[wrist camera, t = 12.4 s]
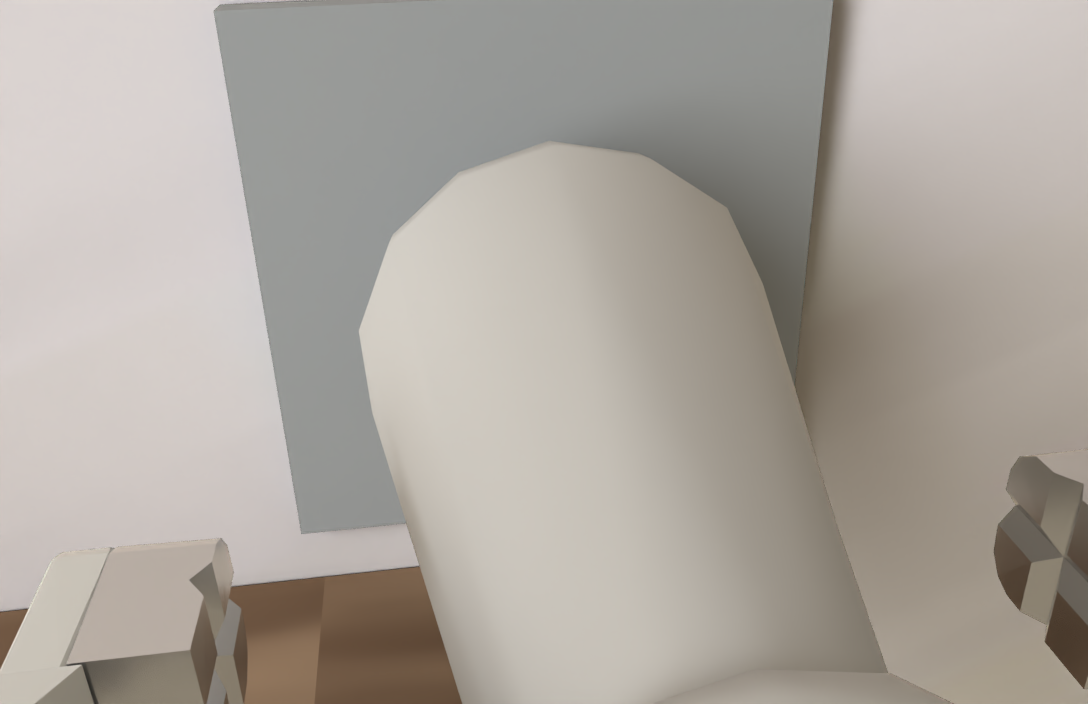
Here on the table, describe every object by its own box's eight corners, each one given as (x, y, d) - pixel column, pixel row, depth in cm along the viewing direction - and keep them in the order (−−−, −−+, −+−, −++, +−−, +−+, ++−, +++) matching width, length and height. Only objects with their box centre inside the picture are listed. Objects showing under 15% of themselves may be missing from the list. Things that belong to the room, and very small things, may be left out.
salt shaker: (674, 53, 15) (1559, 723, 4) (747, 370, 18) (1393, 1328, 6) (305, 177, 15) (44, 1209, 4) (433, 474, 18) (509, 1603, 6)
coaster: (219, 4, 15) (213, 11, 14) (820, -24, 16) (834, -18, 15) (303, 514, 19) (301, 534, 18) (774, 466, 20) (784, 484, 19)
